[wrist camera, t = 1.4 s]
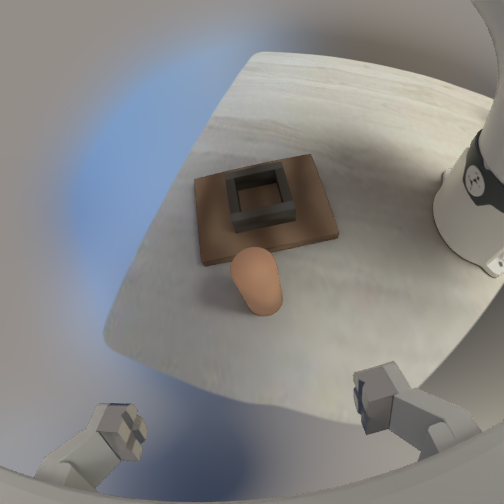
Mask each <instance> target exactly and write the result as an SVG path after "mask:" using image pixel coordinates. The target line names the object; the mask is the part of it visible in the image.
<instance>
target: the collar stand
mask: <svg viewBox="0 0 504 504" xmlns="http://www.w3.org/2000/svg"><path fill="white" fill-rule="evenodd" d="M194 180H195V194H196V206H197V218H198V229H199V240H200V250H201V260H202V263H203V265H204V266H210V265H215V264H219V263H224V262H229V261H233V259H234V257H235V256H236V255H237V254H238V253H239V252H241V251H242V250H244V249H246V248H250V247H260V248H263V249H265V250H267V251H269V252H270V253H271V252H276V251H280V250H285V249H290V248H294V247H299V246H304V245H308V244H313V243H317V242H322V241H327V240H331V239H336V238H338V235H339V231H338V228H337V225H336V222H335V219H334V216H333V213H332V210H331V208H330V205H329V202H328V199H327V196H326V194H325V191H324V188H323V185H322V183H321V180H320V177H319V174H318V172H317V169H316V167H315V164H314V161H313V159H312V156H311V154H307V155H302V156H296V157H291V158H286V159H281V160H276V161H271V162H266V163H262V164H257V165H252V166H248V167H243V168H239V169H234V170H230V171H226V172H222V173H217V174H213V175H209V176H205V177H201V178H197V179H194Z"/></svg>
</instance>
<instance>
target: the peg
mask: <svg viewBox="0 0 504 504" xmlns="http://www.w3.org/2000/svg"><path fill="white" fill-rule="evenodd" d="M230 272H231V276H232V279H233V281H234V282H235V284H236V286H237V288H238V289H239V291H240V293H241V294H242V296H243V298H244V300H245V301H246V303H247V305H248V307H249V308H250V310H251V311H252V312H253V313H255V314H257V315H259V316H269V315H272V314H274V313H275V312H277V311H278V310H279V308H280V307H281V304H282V300H283V297H282V291H281V286H280V280H279V275H278V270H277V264H276V260H275V258H274V257H273V255H272V254H271V253H270V252H269V251H267V250H265V249H263V248H260V247H250V248H246V249H244V250H242V251H241V252H239V253H238V254H237V255H236V256H235V257H234V259H233V261H232V263H231V268H230Z"/></svg>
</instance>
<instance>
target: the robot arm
mask: <svg viewBox="0 0 504 504" xmlns="http://www.w3.org/2000/svg"><path fill="white" fill-rule="evenodd" d="M471 2H472V4H473V5H474V7H475V8H476V9H477V11H478V12H479V14H480V15H481V17H482V18H483V20H484V22H485V24H486V26H487V28H488V31H489V33H490V36H491V38H492V41H493V45H494V48H495V53H496V57H497V64H498V85H497V91H496V95H495V98H494V101H493V104H492V107H491V110H490V113H489V115H488V118H487V120H486V123H485V125H484V127H483V129H481V130H480V131H479V132H478V133H477V135H476V136H475V138H474V139H473V140H472V142H471V144H470V145H471V146H470V148H466V149H465V150H464V152H463V153H462V155H461V156H460V158H459V159H458V161H457V162H456V164H455V165H454V167H453V168H448V169H446V171H445V172H444V174H443V184H442V186H441V188H440V189H439V190H438V192H437V193H436V195H435V198H434V202H433V214H434V219H435V223H436V226H437V228H438V230H439V232H440V234H441V236H442V237H443V239H444V240H445V242H446V243H447V244H448V245H449V247H450V248H451V249H452V250H453V251H455V252H456V253H457V254H458V255H459V256H461V257H462V258H464V259H466V260H468V261H470V262H473V263H475V264H477V265H479V266H481V267H482V268H483V269H484V270H485V271H486V272H487V273H488V274H489V275H491V276H492V277H498V276H500V275H501V274H502V273H504V0H471ZM499 264H500V266H501V267H500V266H499ZM353 381H354V383H355V386H356V387H355V388H354V389H353V390H354V401H355V405H356V409H357V412H358V413H359V414H361V422H362V425H363V428H364V430H365V433H366V435H368V434H372V433H376V432H379V431H382V430H386V429H389V430H391V432H393V433H394V434H396V435H397V436H399V437H400V438H402V439H403V440H405V441H406V442H408V443H409V444H411V445H412V446H414V447H415V448H417V449H418V450H420V451H421V453H420V456H419V459H418V461H417V462H415V463H413V464H410V465H407V466H405V467H402V468H399V469H396V470H393V471H390V472H387V473H384V474H381V475H378V476H374V477H371V478H367V479H364V480H361V481H357V482H353V483H349V484H345V485H341V486H337V487H333V488H328V489H323V490H318V491H313V492H307V493H302V494H296V495H290V496H282V497H275V498H266V499H257V500H244V501H228V502H172V501H155V500H144V499H135V498H126V497H118V496H112V495H106V494H100V493H98V492H97V491H96V490H95V488H96V487H97V486H98V485H99V484H100V483H101V482H102V481H103V480H104V479H105V478H106V477H107V476H108V475H109V474H110V472H112V471H113V470H114V468H115V467H116V466H117V465H118V464H119V463H120V462H121V460H123V461H140V458H141V454H142V451H143V448H142V446H141V444H142V443H143V442H144V441H145V440H146V437H147V427H146V423H145V421H144V420H143V418H141V417H140V416H139V415H137V412H138V410H137V408H136V407H135V405H134V404H117V403H115V404H114V403H110V404H107V403H100V404H98V405H97V407H96V409H95V411H94V413H93V415H92V417H91V419H90V421H89V423H88V425H87V427H86V429H85V431H81V432H79V433H78V434H76V435H75V436H74V437H72V438H71V439H69V440H68V441H67V442H66V443H64V444H62V445H61V446H60V447H58V448H57V449H56V450H54V451H53V452H51V453H50V454H48V455H47V456H45V457H44V459H43V461H42V463H41V464H40V466H39V468H38V471H37V473H36V474H35V477H30V476H27V475H24V474H21V473H18V472H15V471H13V470H9V469H7V468H5V467H2V466H0V504H504V420H502V421H501V422H499V423H497V424H496V425H494V426H492V427H490V428H488V429H487V430H485V431H483V432H482V431H481V429H480V428H479V426H478V425H477V423H476V422H475V420H474V419H473V418H472V416H471V415H470V413H469V412H468V410H467V409H465V408H462V407H460V406H458V405H455V404H452V403H450V402H448V401H445V400H443V399H440V398H438V397H436V396H433V395H431V394H429V393H426V392H424V391H422V390H419V389H417V388H414V389H412V388H411V387H410V385H409V383H408V382H407V380H406V378H405V377H404V375H403V374H402V372H401V370H400V369H399V367H398V366H397V364H396V362H394V361H392V362H388V363H385V364H382V365H379V366H376V367H372V368H369V369H365V370H362V371H358V372H354V375H353Z"/></svg>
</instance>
